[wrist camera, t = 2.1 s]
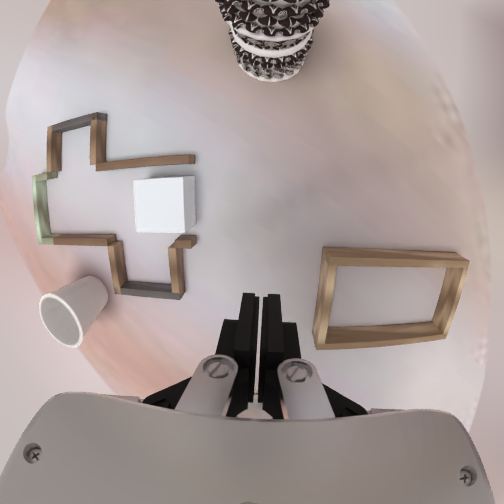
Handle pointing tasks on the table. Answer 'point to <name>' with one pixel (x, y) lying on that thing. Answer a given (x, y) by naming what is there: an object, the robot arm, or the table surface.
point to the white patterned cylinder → (271, 34)
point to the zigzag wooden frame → (114, 247)
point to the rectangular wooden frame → (386, 333)
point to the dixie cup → (73, 309)
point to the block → (164, 204)
